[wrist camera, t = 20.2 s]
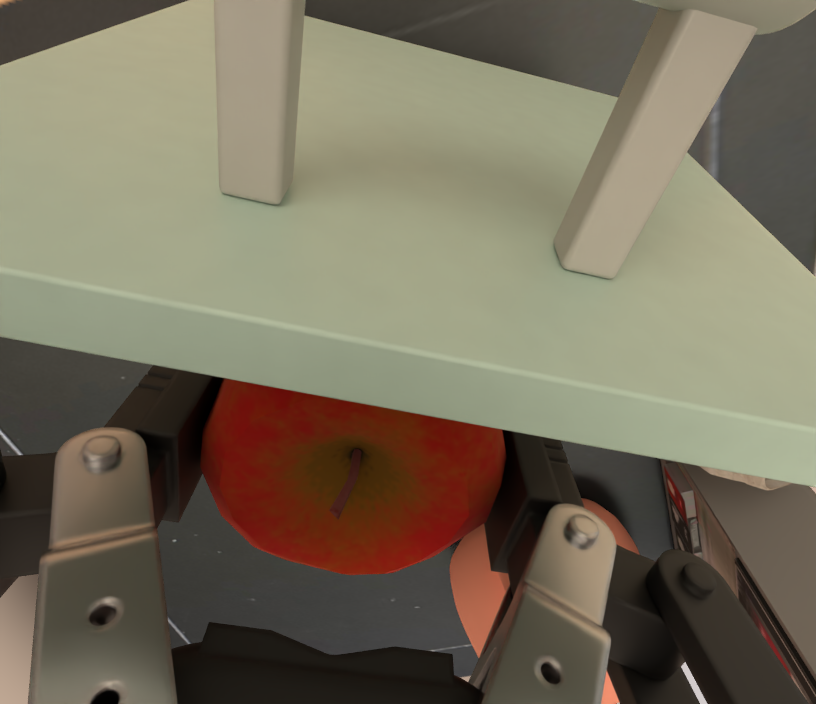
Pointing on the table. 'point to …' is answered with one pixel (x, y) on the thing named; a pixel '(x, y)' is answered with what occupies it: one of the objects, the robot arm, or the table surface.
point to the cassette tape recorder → (755, 555)
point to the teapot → (504, 584)
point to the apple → (346, 477)
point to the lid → (412, 229)
